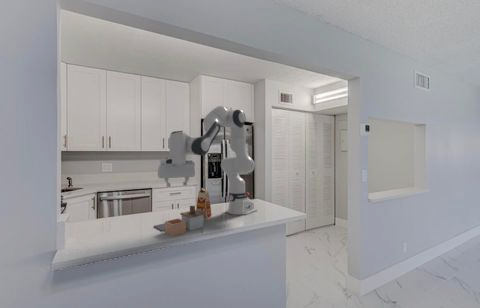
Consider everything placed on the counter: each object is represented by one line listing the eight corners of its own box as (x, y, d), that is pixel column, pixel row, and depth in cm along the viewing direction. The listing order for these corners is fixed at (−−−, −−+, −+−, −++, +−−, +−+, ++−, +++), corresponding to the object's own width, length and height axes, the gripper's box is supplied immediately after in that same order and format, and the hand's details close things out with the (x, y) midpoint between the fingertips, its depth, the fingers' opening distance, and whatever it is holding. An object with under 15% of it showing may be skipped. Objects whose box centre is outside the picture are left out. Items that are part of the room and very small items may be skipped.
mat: (171, 222, 145) (171, 221, 145) (180, 227, 137) (180, 226, 137) (153, 226, 137) (153, 225, 137) (162, 231, 129) (162, 230, 129)
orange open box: (178, 228, 133) (178, 218, 133) (185, 232, 128) (185, 221, 127) (164, 232, 128) (164, 221, 128) (171, 236, 122) (171, 224, 122)
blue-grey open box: (195, 223, 144) (194, 211, 144) (203, 226, 137) (203, 214, 137) (181, 226, 138) (181, 214, 137) (189, 230, 131) (189, 217, 131)
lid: (195, 211, 144) (195, 203, 144) (204, 214, 137) (204, 206, 137) (180, 214, 137) (180, 206, 137) (189, 218, 130) (189, 209, 130)
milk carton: (207, 219, 150) (207, 188, 150) (193, 219, 152) (193, 188, 152) (212, 215, 159) (212, 186, 159) (199, 215, 161) (199, 185, 161)
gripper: (192, 160, 138) (191, 184, 138) (156, 160, 125) (156, 186, 125) (197, 160, 133) (196, 185, 133) (161, 160, 120) (160, 188, 120)
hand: (176, 185), depth 129 cm, fingers open, 8 cm apart
